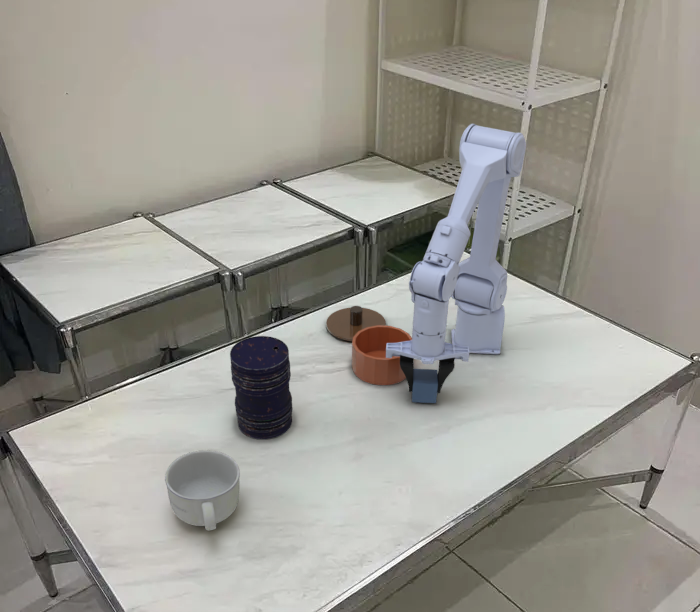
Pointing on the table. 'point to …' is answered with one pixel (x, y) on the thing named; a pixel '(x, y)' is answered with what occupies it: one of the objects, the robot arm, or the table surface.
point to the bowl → (377, 355)
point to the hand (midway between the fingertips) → (424, 389)
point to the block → (424, 385)
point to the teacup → (203, 487)
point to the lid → (352, 321)
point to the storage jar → (262, 386)
